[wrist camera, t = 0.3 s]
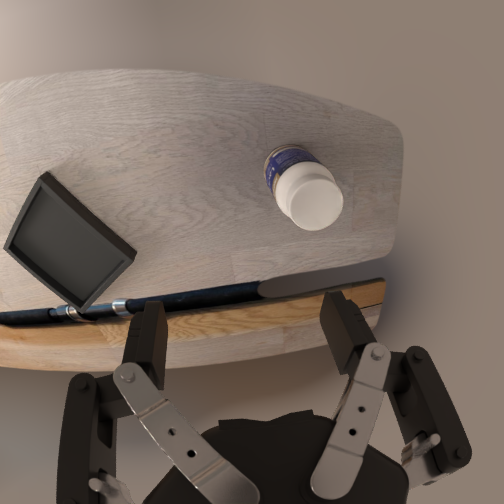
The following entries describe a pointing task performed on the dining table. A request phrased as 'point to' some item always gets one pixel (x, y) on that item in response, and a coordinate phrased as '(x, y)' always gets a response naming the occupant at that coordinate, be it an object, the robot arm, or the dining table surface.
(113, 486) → the robot arm
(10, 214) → the dining table surface
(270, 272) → the dining table surface
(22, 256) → the serving tray
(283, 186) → the pill bottle
